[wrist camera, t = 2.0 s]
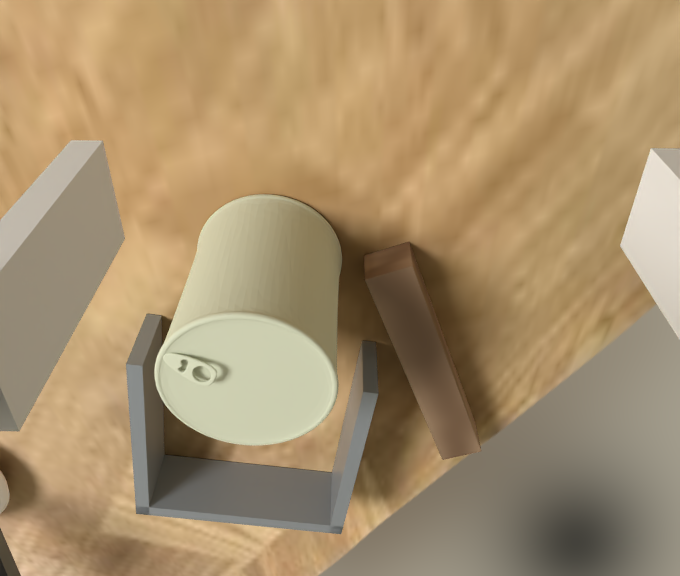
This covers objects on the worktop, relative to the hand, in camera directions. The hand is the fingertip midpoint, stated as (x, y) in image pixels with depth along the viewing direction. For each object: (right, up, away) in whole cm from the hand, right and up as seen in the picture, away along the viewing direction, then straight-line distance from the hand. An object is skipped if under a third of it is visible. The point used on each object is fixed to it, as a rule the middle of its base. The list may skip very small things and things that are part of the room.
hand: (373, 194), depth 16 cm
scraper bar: (+5, -6, +30) cm, 31 cm away
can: (-5, 0, +25) cm, 26 cm away
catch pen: (-7, -11, +33) cm, 36 cm away
